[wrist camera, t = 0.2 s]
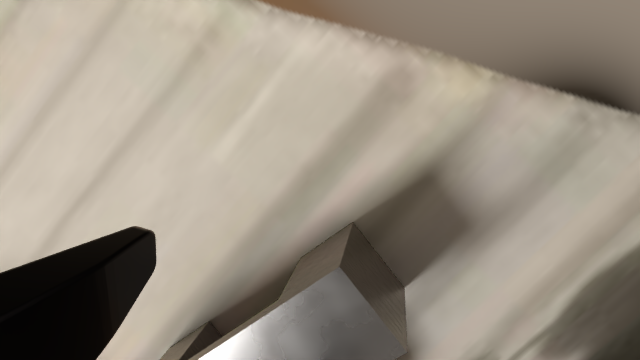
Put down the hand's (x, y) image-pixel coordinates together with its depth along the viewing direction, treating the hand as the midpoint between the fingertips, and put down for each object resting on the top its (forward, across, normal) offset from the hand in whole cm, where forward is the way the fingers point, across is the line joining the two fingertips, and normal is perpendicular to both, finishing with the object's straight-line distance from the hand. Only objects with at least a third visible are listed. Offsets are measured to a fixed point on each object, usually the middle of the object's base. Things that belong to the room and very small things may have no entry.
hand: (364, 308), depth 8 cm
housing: (+12, +4, +15) cm, 20 cm away
